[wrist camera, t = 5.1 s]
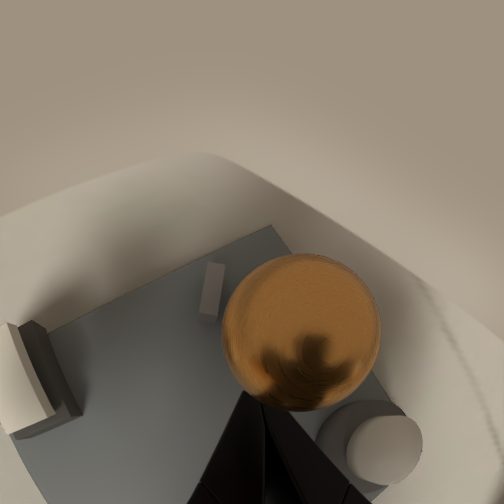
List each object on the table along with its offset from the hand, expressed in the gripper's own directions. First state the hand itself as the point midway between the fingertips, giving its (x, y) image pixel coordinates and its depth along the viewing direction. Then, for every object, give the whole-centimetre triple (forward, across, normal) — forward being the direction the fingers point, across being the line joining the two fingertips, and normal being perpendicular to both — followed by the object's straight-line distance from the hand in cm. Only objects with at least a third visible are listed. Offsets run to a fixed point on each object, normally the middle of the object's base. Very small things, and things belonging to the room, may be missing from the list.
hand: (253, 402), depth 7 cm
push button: (+2, -7, +5) cm, 8 cm away
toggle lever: (+7, 0, 0) cm, 7 cm away
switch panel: (+4, +1, +7) cm, 8 cm away
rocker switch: (+2, +9, +4) cm, 10 cm away
